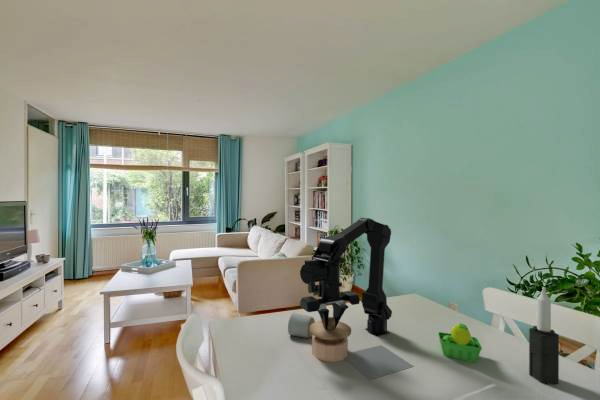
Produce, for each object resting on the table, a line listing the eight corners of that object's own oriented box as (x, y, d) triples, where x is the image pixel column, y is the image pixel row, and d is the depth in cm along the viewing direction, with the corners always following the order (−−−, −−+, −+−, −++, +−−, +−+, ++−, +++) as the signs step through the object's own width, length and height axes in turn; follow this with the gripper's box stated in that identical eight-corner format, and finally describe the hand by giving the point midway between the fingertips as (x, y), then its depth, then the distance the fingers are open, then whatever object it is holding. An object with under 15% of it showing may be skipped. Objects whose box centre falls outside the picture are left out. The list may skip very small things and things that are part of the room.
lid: (336, 319, 102) (336, 309, 102) (359, 335, 90) (359, 323, 90) (302, 326, 97) (302, 314, 97) (322, 343, 85) (322, 330, 85)
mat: (381, 346, 98) (381, 344, 98) (413, 367, 86) (413, 366, 86) (340, 356, 92) (340, 355, 92) (369, 381, 79) (369, 379, 79)
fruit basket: (476, 353, 95) (476, 317, 95) (483, 367, 86) (484, 328, 87) (437, 347, 99) (437, 312, 99) (440, 360, 90) (440, 323, 90)
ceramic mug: (309, 342, 101) (310, 319, 101) (287, 338, 104) (287, 316, 104) (317, 330, 111) (318, 309, 111) (297, 326, 114) (297, 306, 114)
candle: (526, 373, 84) (527, 284, 84) (543, 372, 84) (544, 284, 84) (543, 384, 78) (543, 289, 79) (561, 383, 79) (561, 289, 79)
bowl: (335, 342, 101) (335, 327, 101) (354, 358, 91) (354, 341, 91) (306, 349, 96) (306, 333, 96) (323, 366, 86) (323, 349, 86)
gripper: (341, 270, 105) (341, 314, 105) (293, 275, 97) (292, 323, 97) (360, 277, 95) (360, 326, 95) (308, 284, 87) (308, 337, 87)
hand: (330, 328), depth 94 cm, fingers closed on lid, 3 cm apart
